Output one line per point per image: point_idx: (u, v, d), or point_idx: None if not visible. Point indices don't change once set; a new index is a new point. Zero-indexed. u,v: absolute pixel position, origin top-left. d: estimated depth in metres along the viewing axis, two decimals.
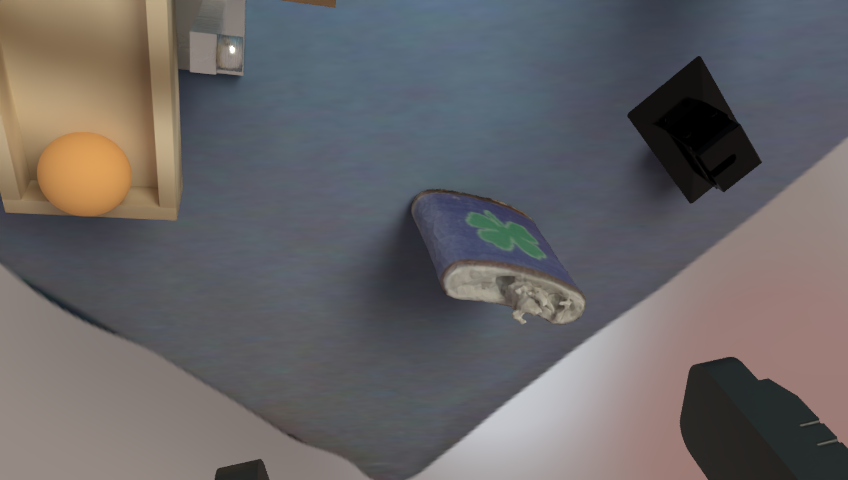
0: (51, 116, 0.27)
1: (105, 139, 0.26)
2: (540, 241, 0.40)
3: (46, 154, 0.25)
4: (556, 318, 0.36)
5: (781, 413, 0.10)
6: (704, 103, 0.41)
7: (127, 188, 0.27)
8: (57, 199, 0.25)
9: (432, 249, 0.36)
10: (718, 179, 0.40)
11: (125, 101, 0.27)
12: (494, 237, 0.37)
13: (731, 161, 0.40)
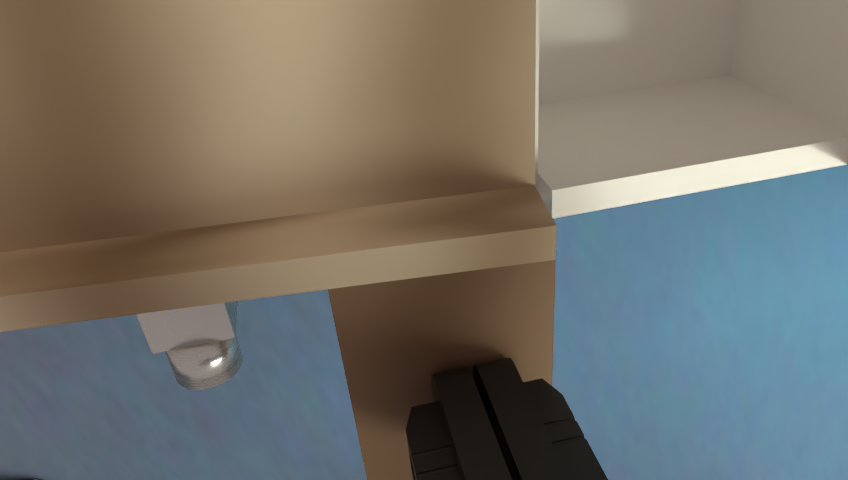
0: None
1: None
2: None
3: None
4: None
5: (530, 411, 0.11)
6: None
7: None
8: None
9: None
10: None
11: None
12: None
13: None
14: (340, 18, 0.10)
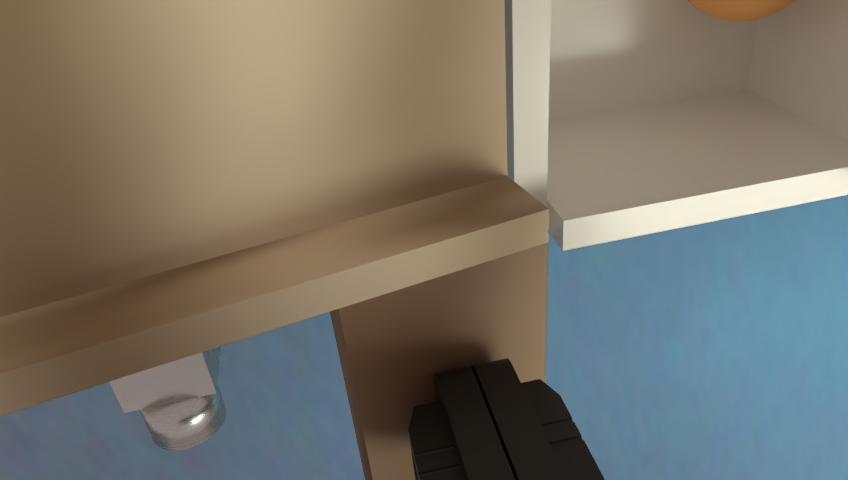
0: None
1: None
2: None
3: None
4: None
5: (528, 412, 0.11)
6: None
7: (728, 20, 0.16)
8: None
9: None
10: None
11: None
12: None
13: None
14: (321, 26, 0.10)
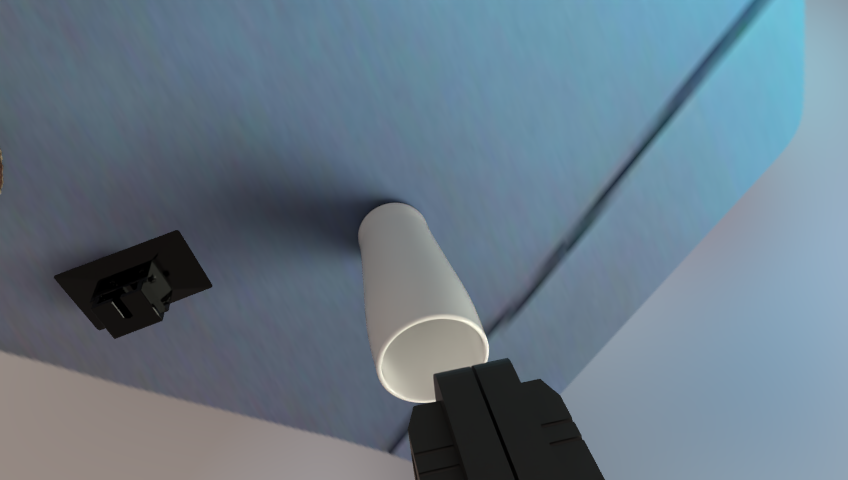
0: None
1: None
2: None
3: None
4: None
5: (528, 412, 0.11)
6: (171, 290, 0.47)
7: None
8: None
9: None
10: (108, 304, 0.43)
11: None
12: None
13: (123, 315, 0.44)
14: None
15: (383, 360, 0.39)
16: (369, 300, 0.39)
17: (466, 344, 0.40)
